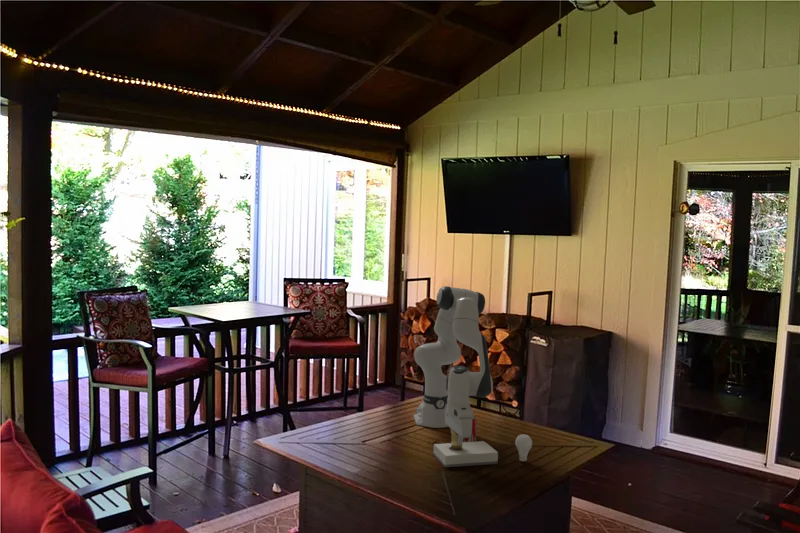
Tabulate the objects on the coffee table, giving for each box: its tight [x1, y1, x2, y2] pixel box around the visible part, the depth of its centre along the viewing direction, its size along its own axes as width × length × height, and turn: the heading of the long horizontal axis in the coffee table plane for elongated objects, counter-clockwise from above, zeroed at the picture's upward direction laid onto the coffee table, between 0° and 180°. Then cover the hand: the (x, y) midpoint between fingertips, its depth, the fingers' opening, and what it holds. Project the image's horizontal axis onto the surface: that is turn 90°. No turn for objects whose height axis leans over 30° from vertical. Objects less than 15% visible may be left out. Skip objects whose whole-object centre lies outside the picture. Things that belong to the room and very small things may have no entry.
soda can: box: [463, 415, 478, 442], centre depth 271 cm, size 7×7×12 cm
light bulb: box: [514, 434, 533, 463], centre depth 252 cm, size 7×7×11 cm
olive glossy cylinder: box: [450, 430, 462, 450], centre depth 251 cm, size 4×4×7 cm
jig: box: [432, 440, 499, 468], centre depth 252 cm, size 14×22×4 cm, turn 106°
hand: (457, 442), depth 251 cm, fingers closed on olive glossy cylinder, 4 cm apart
